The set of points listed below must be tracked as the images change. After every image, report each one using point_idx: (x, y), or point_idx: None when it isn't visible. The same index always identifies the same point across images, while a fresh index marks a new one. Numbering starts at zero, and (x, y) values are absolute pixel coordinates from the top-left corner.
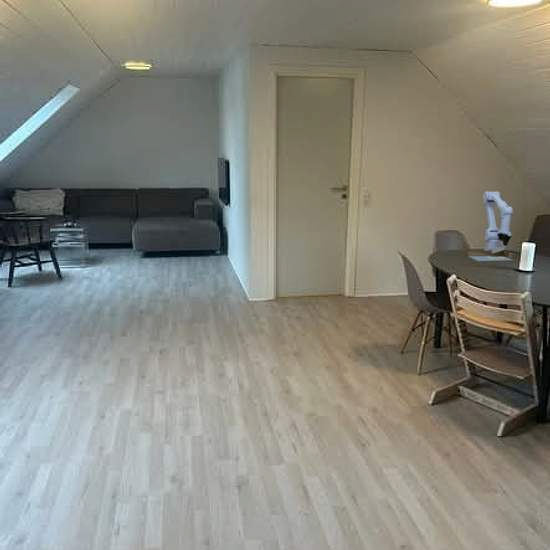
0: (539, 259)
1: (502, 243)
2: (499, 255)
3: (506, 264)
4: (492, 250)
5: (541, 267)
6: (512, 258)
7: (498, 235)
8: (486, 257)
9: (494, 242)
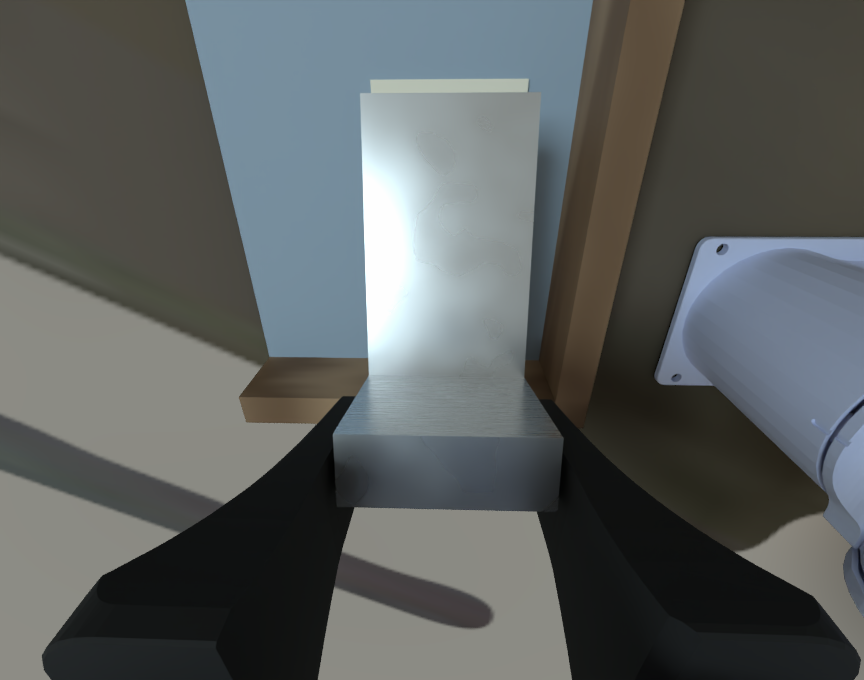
0: (365, 570)
1: (374, 407)
2: (545, 325)
3: (23, 161)
4: (378, 114)
5: (7, 451)
6: (286, 366)
7: (667, 577)
8: (460, 38)
9: (833, 415)
